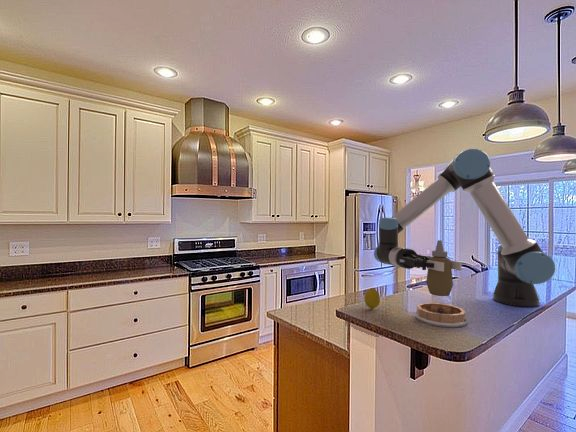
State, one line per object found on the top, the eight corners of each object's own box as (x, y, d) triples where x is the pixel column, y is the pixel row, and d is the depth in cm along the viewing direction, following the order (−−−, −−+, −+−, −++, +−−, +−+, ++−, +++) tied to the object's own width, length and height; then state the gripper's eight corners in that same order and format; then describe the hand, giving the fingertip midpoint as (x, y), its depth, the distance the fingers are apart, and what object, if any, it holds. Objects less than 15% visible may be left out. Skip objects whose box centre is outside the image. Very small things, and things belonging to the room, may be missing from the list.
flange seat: (440, 311, 112) (440, 301, 112) (477, 324, 97) (477, 313, 97) (406, 315, 107) (406, 304, 107) (439, 329, 93) (439, 317, 93)
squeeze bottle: (428, 296, 99) (429, 240, 100) (424, 291, 107) (424, 239, 107) (456, 298, 97) (456, 241, 98) (449, 292, 105) (449, 239, 106)
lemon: (369, 312, 110) (369, 290, 110) (361, 308, 116) (361, 286, 116) (383, 311, 112) (382, 289, 112) (374, 307, 117) (374, 285, 117)
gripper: (423, 266, 123) (475, 277, 101) (382, 268, 117) (427, 280, 95) (424, 247, 123) (475, 254, 101) (382, 248, 117) (427, 255, 95)
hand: (451, 266), depth 98 cm, fingers closed on squeeze bottle, 6 cm apart
